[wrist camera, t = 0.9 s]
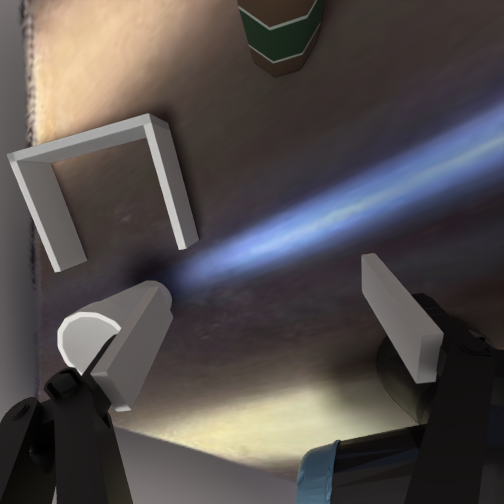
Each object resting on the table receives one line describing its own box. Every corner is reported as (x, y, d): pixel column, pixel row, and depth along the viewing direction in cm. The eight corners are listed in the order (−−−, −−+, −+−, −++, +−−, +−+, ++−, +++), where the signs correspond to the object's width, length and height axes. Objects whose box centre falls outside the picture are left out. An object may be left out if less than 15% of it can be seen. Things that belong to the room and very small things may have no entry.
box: (198, 239, 38) (186, 248, 33) (82, 261, 41) (55, 272, 36) (168, 122, 34) (148, 113, 29) (42, 157, 37) (6, 154, 33)
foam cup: (162, 261, 39) (105, 299, 27) (192, 312, 41) (150, 369, 29) (115, 285, 41) (41, 329, 29) (144, 332, 43) (87, 393, 31)
